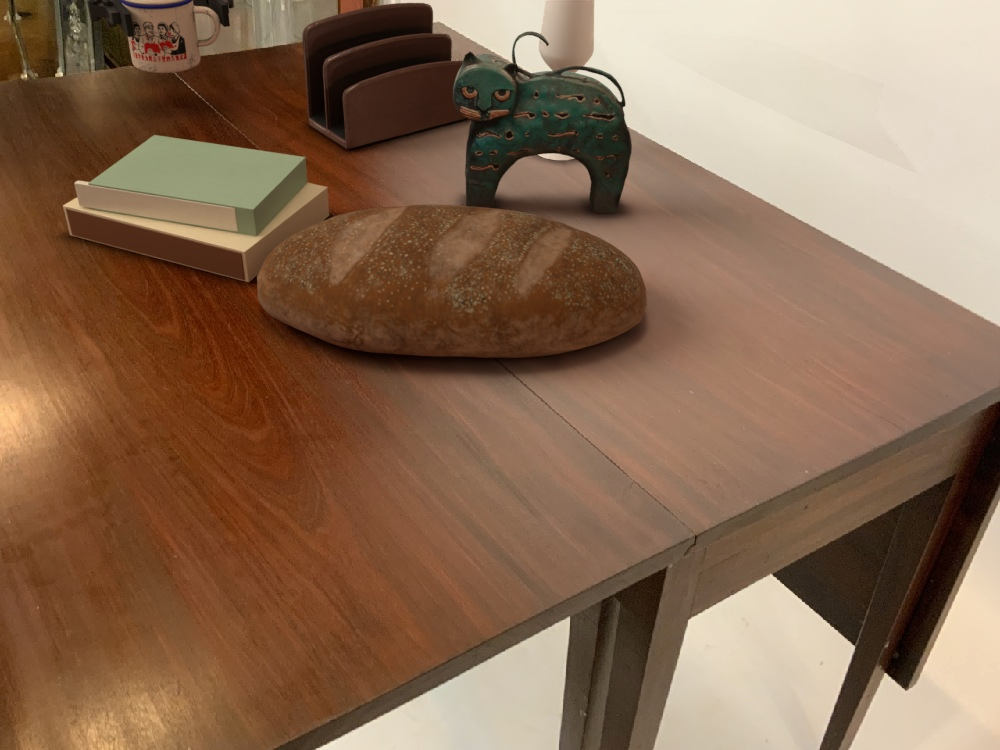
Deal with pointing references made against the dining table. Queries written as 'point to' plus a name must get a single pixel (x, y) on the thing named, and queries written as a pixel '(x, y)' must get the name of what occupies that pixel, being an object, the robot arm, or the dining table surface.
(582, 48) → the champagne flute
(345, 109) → the letter holder
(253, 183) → the book stack
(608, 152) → the ceramic cat
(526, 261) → the bread
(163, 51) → the teacup with lid
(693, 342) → the dining table surface
